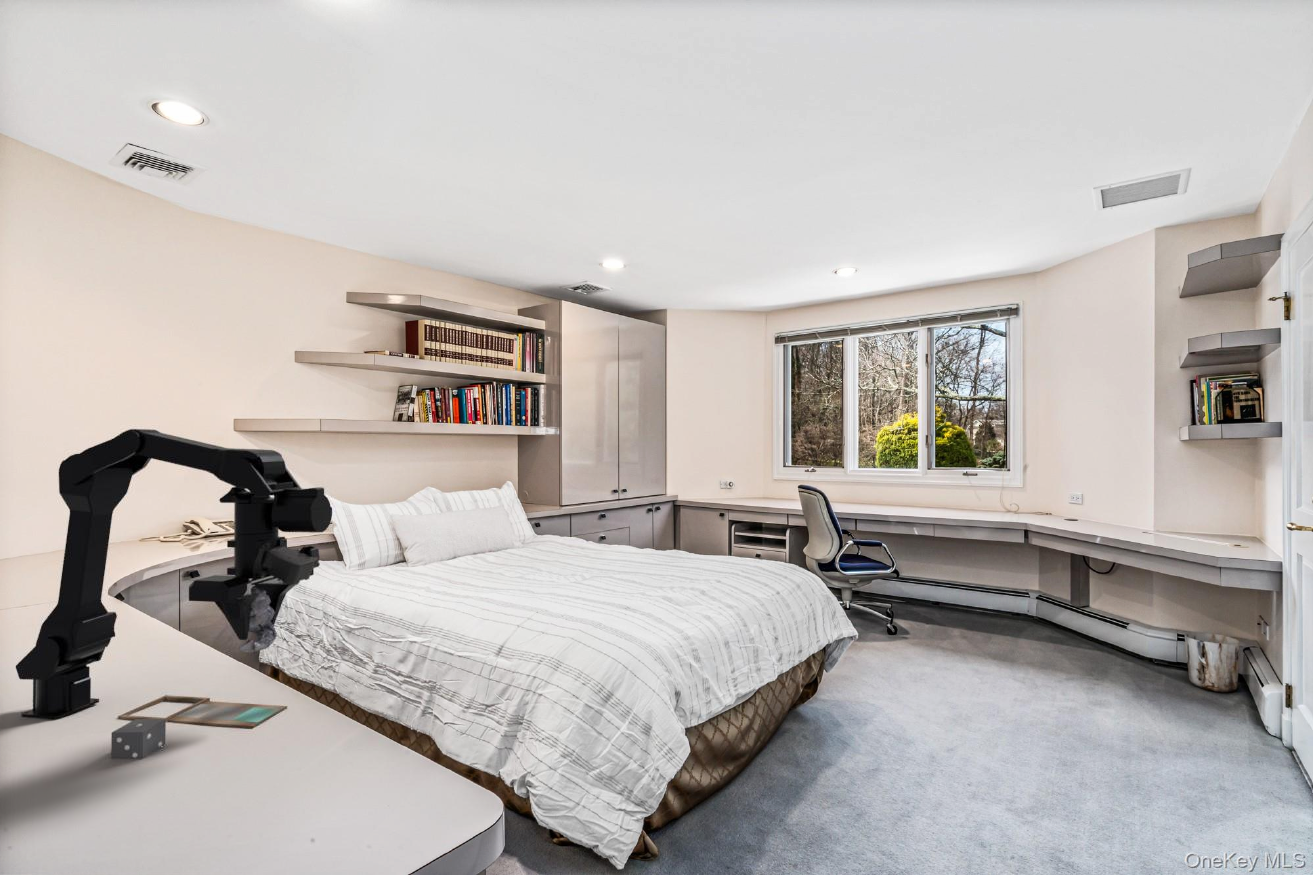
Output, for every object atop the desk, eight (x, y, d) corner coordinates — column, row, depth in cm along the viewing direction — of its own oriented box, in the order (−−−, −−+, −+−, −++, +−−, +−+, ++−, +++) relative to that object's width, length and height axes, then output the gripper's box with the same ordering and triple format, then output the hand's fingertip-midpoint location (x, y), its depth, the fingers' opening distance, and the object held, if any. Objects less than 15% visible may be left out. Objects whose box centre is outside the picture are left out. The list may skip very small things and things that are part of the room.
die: (109, 763, 82) (110, 731, 82) (135, 748, 87) (135, 717, 87) (143, 763, 82) (143, 731, 83) (166, 747, 87) (167, 717, 87)
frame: (117, 720, 95) (117, 716, 95) (165, 698, 103) (165, 695, 103) (165, 723, 94) (165, 719, 94) (209, 701, 102) (209, 697, 102)
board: (163, 721, 94) (163, 719, 94) (202, 702, 101) (202, 700, 101) (253, 727, 92) (253, 725, 92) (287, 708, 99) (287, 706, 99)
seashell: (256, 657, 93) (256, 589, 93) (225, 655, 94) (226, 588, 94) (284, 646, 98) (284, 582, 98) (255, 644, 99) (255, 580, 100)
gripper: (258, 542, 86) (257, 657, 86) (343, 525, 105) (343, 619, 105) (185, 541, 88) (184, 653, 88) (282, 523, 106) (281, 616, 106)
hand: (256, 634), depth 96 cm, fingers closed on seashell, 5 cm apart
